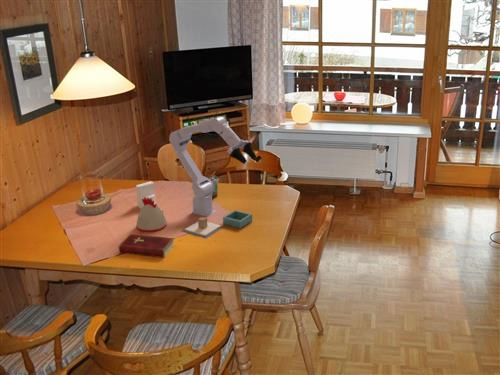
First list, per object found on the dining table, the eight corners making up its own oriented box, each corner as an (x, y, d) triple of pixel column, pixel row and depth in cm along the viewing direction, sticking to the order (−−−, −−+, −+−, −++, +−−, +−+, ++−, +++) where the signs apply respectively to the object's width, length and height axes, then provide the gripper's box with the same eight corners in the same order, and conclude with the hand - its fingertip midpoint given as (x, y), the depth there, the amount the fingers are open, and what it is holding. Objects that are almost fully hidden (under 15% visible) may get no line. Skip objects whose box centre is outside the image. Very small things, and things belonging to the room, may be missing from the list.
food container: (216, 200, 297) (215, 183, 294) (205, 200, 299) (204, 182, 295) (222, 192, 309) (221, 175, 305) (211, 191, 310) (210, 174, 306)
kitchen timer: (150, 218, 278) (147, 190, 273) (172, 224, 271) (170, 195, 266) (131, 229, 267) (127, 200, 261) (153, 235, 260) (151, 205, 255)
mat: (180, 232, 263) (180, 231, 263) (200, 220, 275) (200, 219, 274) (206, 239, 255) (205, 238, 255) (225, 227, 267) (225, 226, 267)
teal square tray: (223, 225, 269) (222, 217, 268) (235, 217, 277) (234, 210, 275) (240, 229, 264) (240, 221, 262) (252, 221, 272) (252, 214, 270)
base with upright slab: (143, 210, 288) (141, 188, 283) (135, 205, 294) (132, 183, 290) (159, 205, 293) (157, 184, 288) (150, 201, 299) (148, 179, 295)
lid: (184, 230, 263) (184, 220, 261) (200, 221, 272) (200, 211, 271) (205, 236, 257) (204, 226, 255) (221, 226, 266) (220, 216, 264)
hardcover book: (164, 258, 240) (163, 249, 239) (119, 253, 245) (118, 245, 244) (175, 246, 251) (174, 237, 249) (131, 241, 256) (130, 233, 255)
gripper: (226, 136, 251) (245, 159, 249) (244, 128, 262) (263, 150, 260) (218, 146, 255) (237, 168, 253) (236, 138, 266) (255, 160, 264)
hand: (250, 160), depth 257 cm, fingers open, 7 cm apart
